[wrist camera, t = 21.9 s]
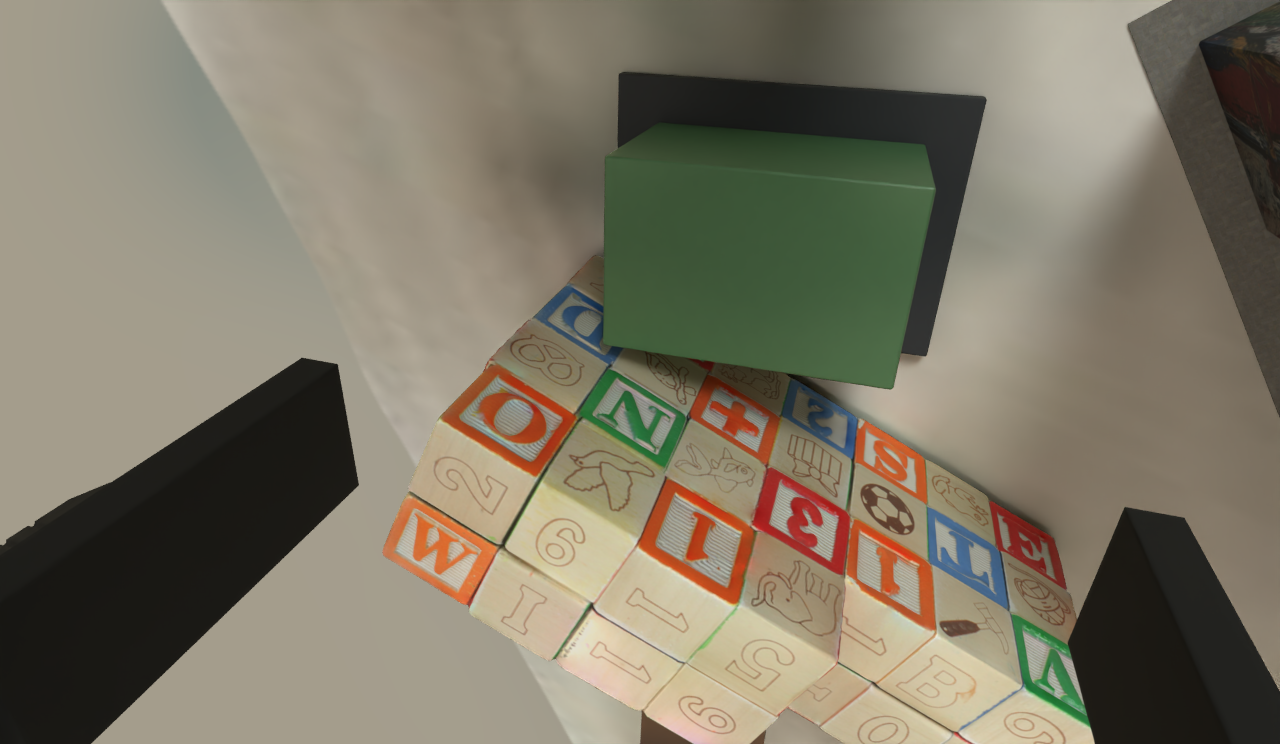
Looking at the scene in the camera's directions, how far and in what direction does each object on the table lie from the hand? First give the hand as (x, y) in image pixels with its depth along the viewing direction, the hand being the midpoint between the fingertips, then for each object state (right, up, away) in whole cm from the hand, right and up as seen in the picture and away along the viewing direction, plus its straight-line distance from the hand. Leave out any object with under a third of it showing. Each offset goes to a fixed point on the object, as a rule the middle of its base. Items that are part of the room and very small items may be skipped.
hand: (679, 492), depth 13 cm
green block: (+4, +8, +14) cm, 17 cm away
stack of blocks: (+5, -1, +18) cm, 19 cm away
